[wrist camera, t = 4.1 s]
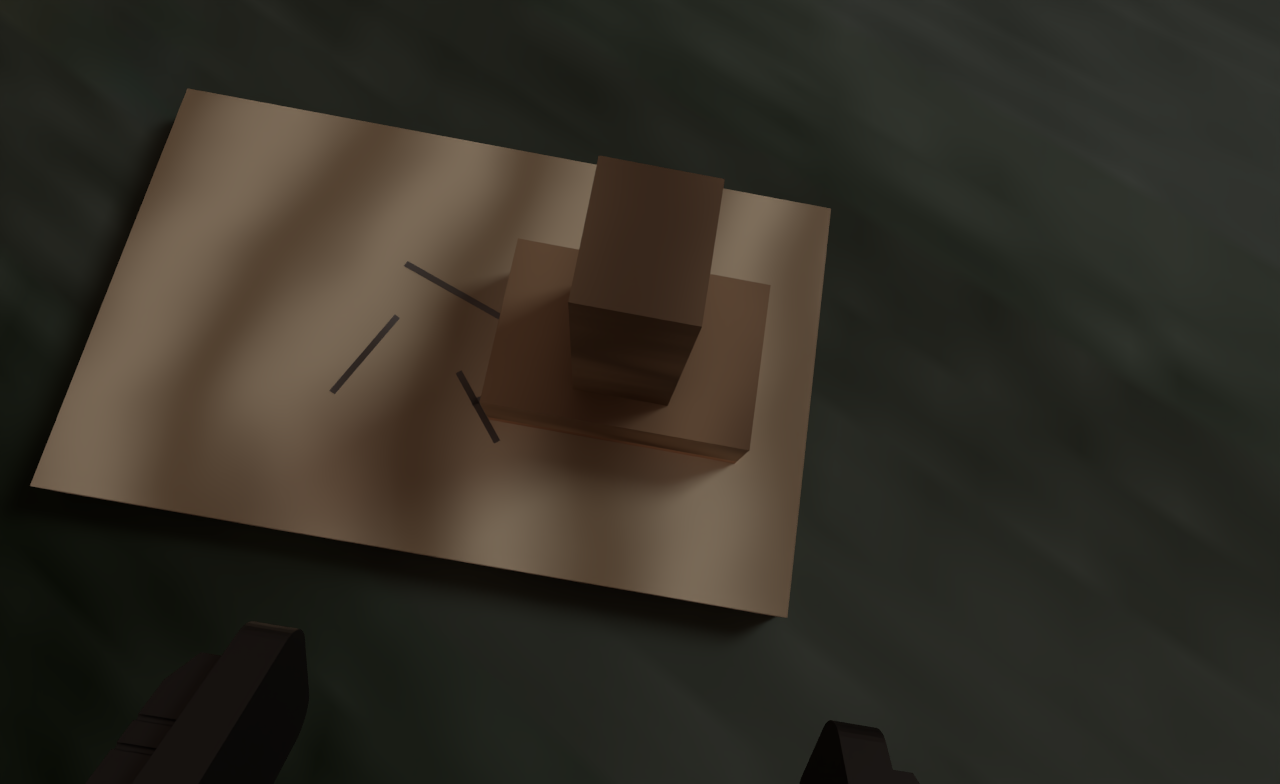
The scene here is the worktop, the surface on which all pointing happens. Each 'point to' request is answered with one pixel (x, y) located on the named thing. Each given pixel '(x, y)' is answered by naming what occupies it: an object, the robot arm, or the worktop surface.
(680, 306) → the block
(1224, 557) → the worktop surface
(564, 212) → the birch board
